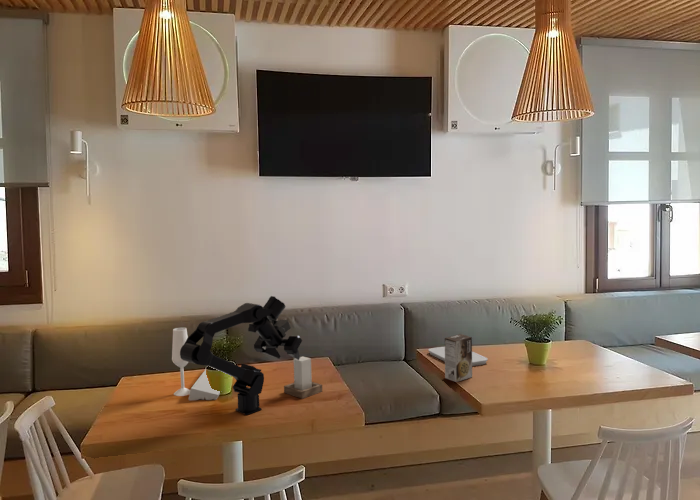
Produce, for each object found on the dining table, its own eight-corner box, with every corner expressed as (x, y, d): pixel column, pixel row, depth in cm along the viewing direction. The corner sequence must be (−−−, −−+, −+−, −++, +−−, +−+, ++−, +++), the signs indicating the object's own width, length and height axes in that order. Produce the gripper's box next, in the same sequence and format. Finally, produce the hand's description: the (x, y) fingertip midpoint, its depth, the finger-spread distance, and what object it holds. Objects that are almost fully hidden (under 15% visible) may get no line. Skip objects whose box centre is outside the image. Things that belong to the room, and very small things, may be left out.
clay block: (302, 395, 204) (301, 361, 203) (294, 392, 207) (293, 358, 206) (311, 391, 207) (310, 358, 206) (304, 389, 210) (303, 356, 209)
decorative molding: (233, 377, 236) (209, 371, 235) (236, 366, 235) (212, 360, 235) (215, 407, 202) (188, 401, 201) (218, 394, 201) (191, 388, 201)
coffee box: (460, 373, 225) (460, 333, 223) (472, 377, 220) (472, 336, 218) (444, 378, 220) (443, 337, 218) (456, 382, 214) (456, 340, 213)
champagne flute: (172, 396, 205) (169, 331, 203) (174, 390, 212) (171, 327, 210) (191, 395, 207) (188, 330, 204) (193, 389, 213) (190, 326, 211)
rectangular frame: (302, 398, 200) (302, 392, 200) (284, 392, 207) (283, 386, 207) (322, 391, 208) (322, 384, 207) (304, 385, 214) (303, 379, 214)
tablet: (457, 370, 231) (457, 364, 231) (425, 353, 255) (425, 349, 255) (490, 364, 237) (490, 359, 237) (456, 349, 261) (456, 344, 261)
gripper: (297, 312, 195) (318, 341, 203) (258, 312, 206) (279, 339, 214) (283, 338, 188) (305, 366, 197) (243, 337, 199) (266, 363, 207)
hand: (289, 358), depth 204 cm, fingers open, 9 cm apart
